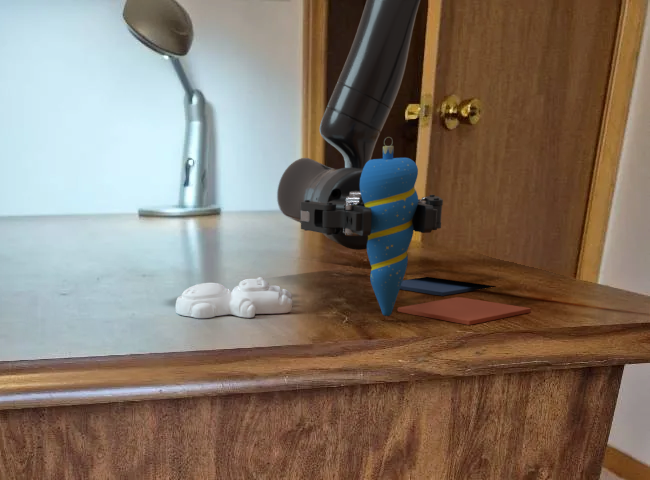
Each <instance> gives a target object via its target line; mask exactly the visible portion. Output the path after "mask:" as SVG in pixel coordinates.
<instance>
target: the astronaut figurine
mask: <svg viewBox="0 0 650 480" xmlns="http://www.w3.org/2000/svg"><path fill="white" fill-rule="evenodd" d="M293 304H294V303H293V295H292V292H290V291H289V290H288V289H286V288H282V289H281V287H280V285H272V284H270V283H269V282H268V281H267V280H265V278H264V277H262V276H259V277H257V278H246V279H243V280H241V281H239V283H238V285H236V286H234V288H233V289H232V291H231V290H230V289H229V288H226V286H225V285H223V284H221V283H217V282H202V283H197V284H195V285H192V286H190V287H188V288H185V290H183V292H182V293H181V295H179V296H178V297H177V298H176V301H175V312H176V314H177V315H180V316H183V317H184V316H185V317H191V318H194V319H211V318H215V317H219V316H227V315H233V316H235V317H240V318H245V319H247V318H248V319H252V318H255V315H265V314H268V315H269V314H270V315H272V314H273V315H274V314H288V313H290V312H291V310H292V308H293Z"/></svg>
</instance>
